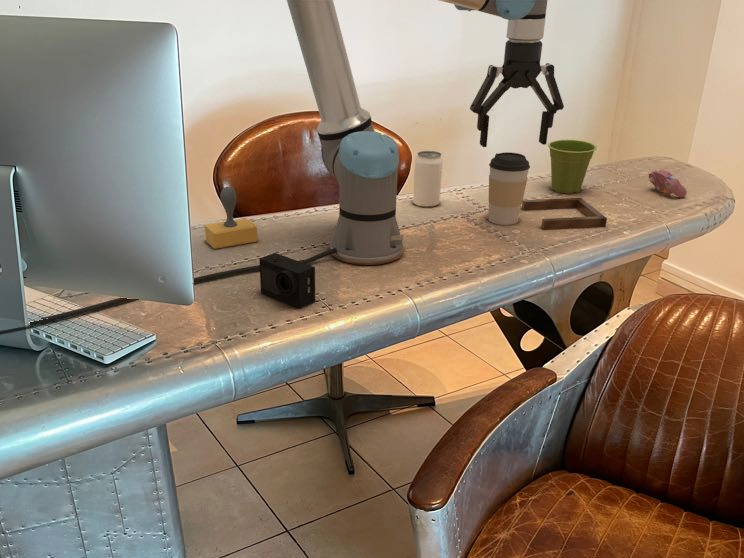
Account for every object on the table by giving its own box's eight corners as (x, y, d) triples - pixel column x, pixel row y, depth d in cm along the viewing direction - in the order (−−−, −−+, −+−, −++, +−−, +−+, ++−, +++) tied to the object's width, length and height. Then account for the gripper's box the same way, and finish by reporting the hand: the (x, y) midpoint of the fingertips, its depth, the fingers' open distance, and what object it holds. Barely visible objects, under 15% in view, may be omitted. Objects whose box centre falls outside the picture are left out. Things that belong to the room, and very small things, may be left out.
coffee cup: (520, 214, 191) (529, 149, 183) (524, 227, 184) (533, 160, 176) (482, 212, 192) (489, 148, 184) (484, 225, 184) (491, 159, 177)
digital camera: (255, 294, 152) (253, 259, 148) (276, 286, 155) (274, 251, 152) (294, 311, 146) (293, 274, 142) (315, 301, 149) (315, 266, 146)
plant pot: (538, 182, 213) (544, 139, 207) (583, 183, 212) (590, 139, 206) (546, 196, 203) (552, 151, 197) (594, 197, 202) (602, 152, 196)
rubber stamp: (214, 249, 172) (210, 193, 165) (205, 241, 176) (200, 186, 170) (258, 242, 175) (255, 187, 169) (247, 233, 180) (244, 180, 173)
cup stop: (543, 229, 182) (544, 220, 181) (521, 208, 195) (522, 200, 194) (605, 226, 184) (607, 218, 183) (579, 205, 197) (581, 197, 196)
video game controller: (648, 193, 210) (643, 170, 206) (664, 184, 210) (658, 161, 206) (673, 205, 202) (668, 181, 198) (689, 195, 202) (684, 171, 198)
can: (444, 205, 196) (447, 155, 190) (420, 208, 194) (423, 158, 188) (431, 198, 202) (435, 149, 195) (408, 201, 200) (411, 151, 193)
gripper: (574, 35, 172) (560, 137, 183) (460, 39, 169) (453, 142, 181) (589, 41, 166) (573, 146, 177) (470, 44, 163) (462, 151, 174)
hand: (512, 144), depth 179 cm, fingers open, 13 cm apart
